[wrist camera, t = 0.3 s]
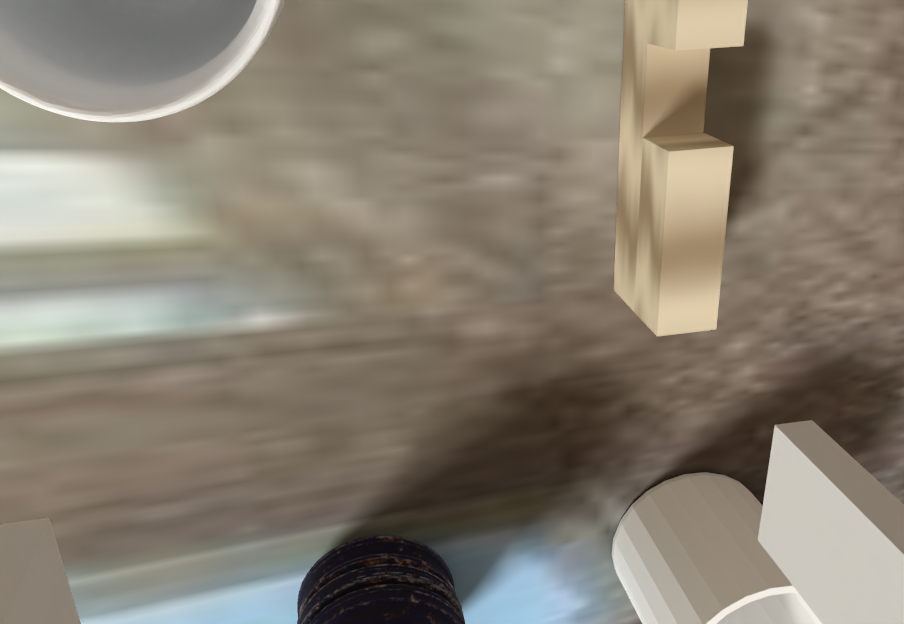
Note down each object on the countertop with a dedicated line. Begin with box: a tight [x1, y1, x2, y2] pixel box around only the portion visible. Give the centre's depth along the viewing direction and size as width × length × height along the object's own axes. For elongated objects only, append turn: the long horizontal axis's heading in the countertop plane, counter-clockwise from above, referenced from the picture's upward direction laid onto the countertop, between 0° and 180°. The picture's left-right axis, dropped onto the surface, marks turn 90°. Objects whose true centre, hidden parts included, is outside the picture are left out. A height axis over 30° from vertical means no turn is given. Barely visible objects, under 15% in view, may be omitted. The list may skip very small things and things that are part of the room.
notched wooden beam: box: [614, 0, 748, 336], centre depth 37 cm, size 22×3×6 cm, turn 3°
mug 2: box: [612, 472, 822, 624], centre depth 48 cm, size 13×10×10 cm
